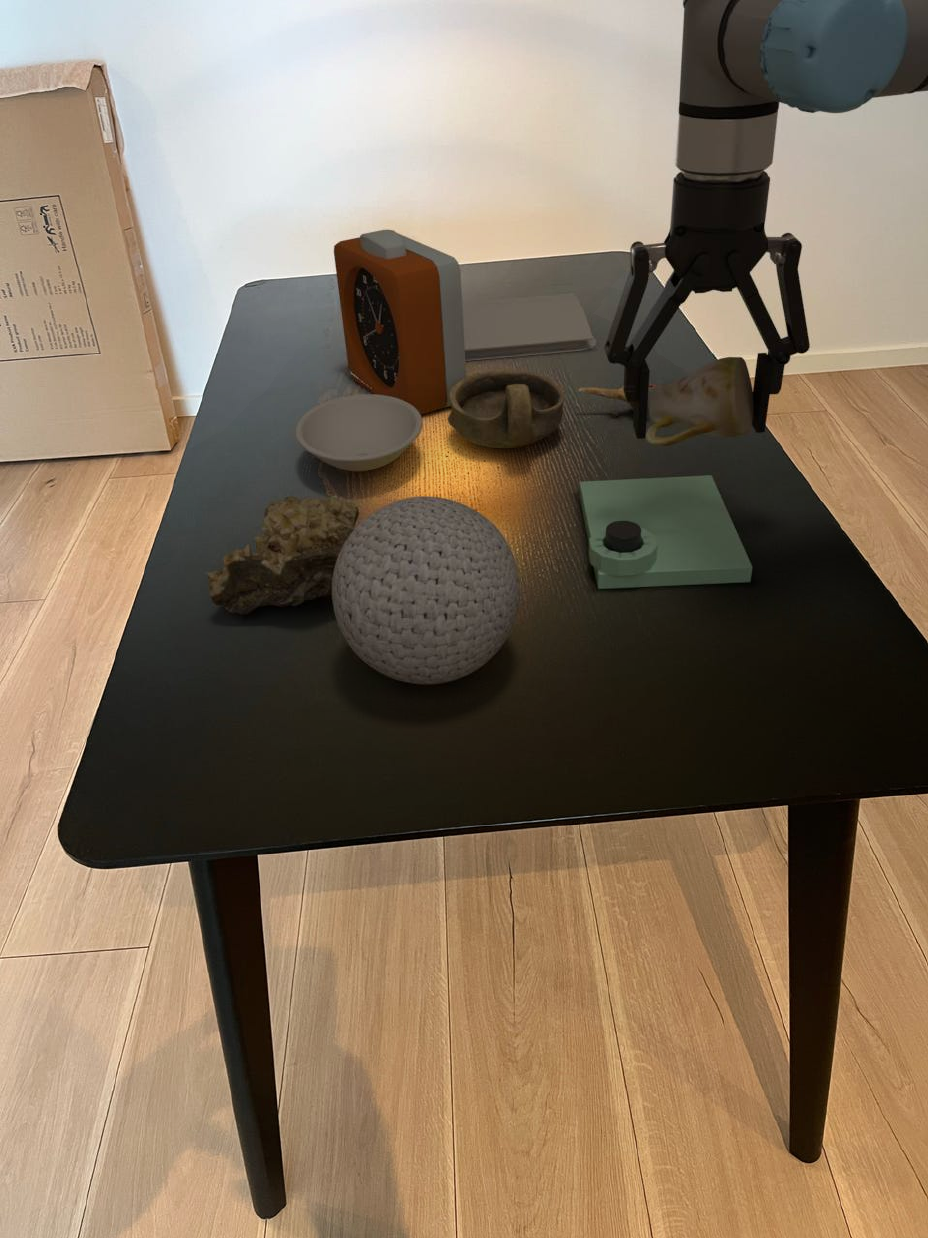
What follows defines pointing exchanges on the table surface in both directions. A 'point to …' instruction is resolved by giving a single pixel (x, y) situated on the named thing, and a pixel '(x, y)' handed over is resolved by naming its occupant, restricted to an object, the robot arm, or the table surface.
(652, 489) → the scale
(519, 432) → the bowl
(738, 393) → the mug
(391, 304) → the alarm clock
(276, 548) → the mineral specimen
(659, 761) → the table surface
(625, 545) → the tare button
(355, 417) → the dish
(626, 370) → the robot arm
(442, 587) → the decorative ball
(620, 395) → the spiral seashell
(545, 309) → the book
